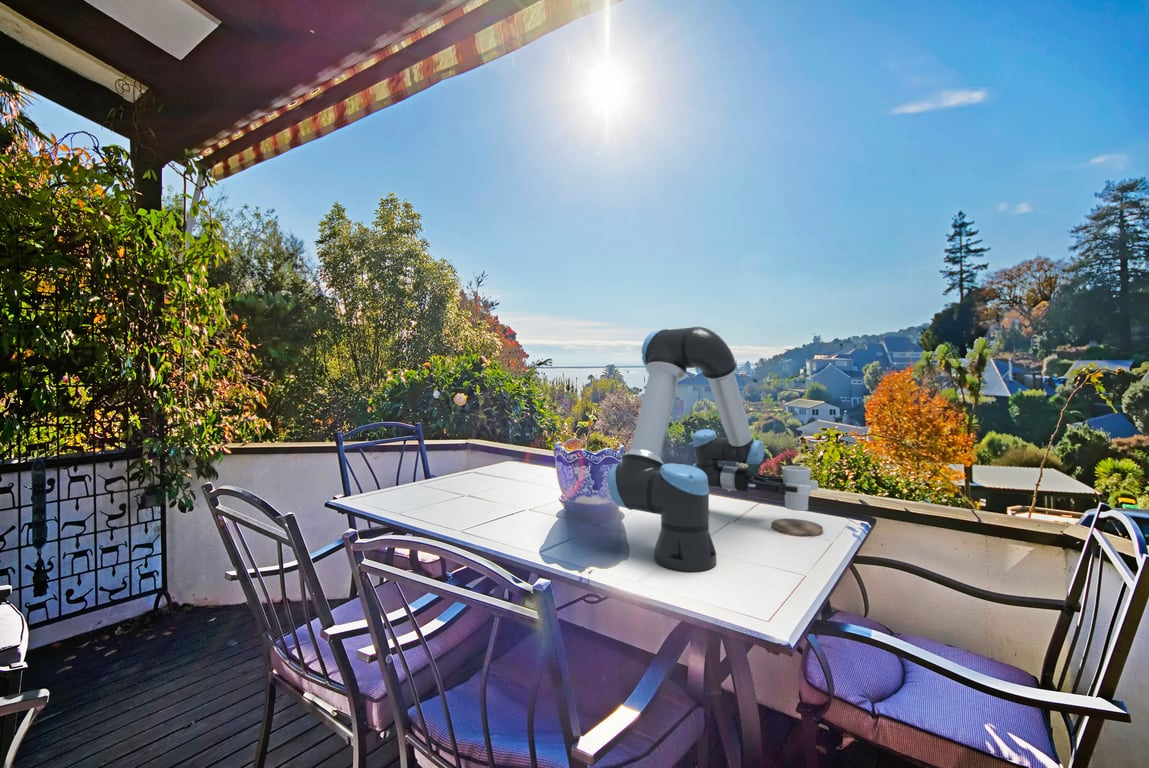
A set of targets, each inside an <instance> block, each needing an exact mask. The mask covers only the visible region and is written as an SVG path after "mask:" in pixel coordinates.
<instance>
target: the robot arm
mask: <svg viewBox="0 0 1149 768" xmlns="http://www.w3.org/2000/svg"><path fill="white" fill-rule="evenodd" d="M641 354H642V356H641V360H642V363H643V365H644V366H645V371H646V372H647V374H648V378H647V381H646V386H645V390H644V392H643V398H642V403H641V405H640V408H639V409H640V410H639V414H638V417H637V423H636V426H635V430H634V435H633V437H632V442H631V446H630V450H629V451H627V452H625V453H624V454H623V455H622V459H621V462H619V463H615V464H614V465H613V467H611V468H610V470H609V474H608V478H607V488H608V493H609V495H610V498H611V500H612V501H613V503H614V504H615V505H617V506H619V507H621V508H624V509H627V510H630V511H632V510H633V511H634V510H635V511H641V512H644V513H650V514H656V515H660V531H659V534H658V538H657V541H656V542H655V547H654V554H653V555H654V556H653V557H654V561H655V563H657V565H659V566H662V567H664V568H667V569H668V570H669V569H671V570H675V571H678V572H679V571H681V572H702V571H707V570H710V569H712V568H715V566H716V565H717V552H716V549H715V545H714V542H713V539H712V537H711V533H710V525H709V524H710V523H709V522H710V520H709V517H710V516H709V514H710V511H709V510H710V507H709V505H710V504H709V503H710V502H709V501H710V499H709V496H710V494H709V493H710V488H715V489H722V490H727V492H731V491H737V492H742V493H749V492H751V490H752V491H753V490H755V491H761V492H767V493H773V494H777V495H779V494H781V496H784V495H786V493H792V494H799V495H807V496H809V497H810V496H812V494H811V493H812V492H811V491H819V486H818V485H819V483H818V482H819V481H818V480H811V479H810V484H809V486H806V485H798V484H789V483H787V484H783V475H773V474H772V475H771V474H766V473H762V474H761V473H759V474H756V475H754V474H753V471H752V469H750V468H748V467H747V468H746V467H737V466H728V465H720V462H730V463H731V462H732V463H737V464H738V463H739V464H746V465H748V464H749V465H759V464H761V463H762V462H763V460H764V456H765V446H764V443H763V442H762V440H758V439H754V437H753V435H752V431H751V428H750V424H749V421H748V418H747V414H746V410H745V406H744V403H743V398H742V396H741V391H740V388H739V385H738V381H737V378H736V374H735V371H736V369H737V363H736V360H735V356H734V354H733V352H732V350H731V348H730V347H729V346H728V344H727V343H726V342H725V341H724V339H723V338H721V336H719V334H717V333H716V332H714V331H712V330H710V329H709V328H706V327H703V326H692V327H683V328H673V329H668V328H662V329H659V330H653V332H650V333H649V334H648V335H646V337H645V339H644V340H643V343H642V347H641ZM692 368H693V369H694V368H695V369H697V368H698V369H700V370H701V373H702V376H703V378H705V379H707V380H708V383H709V387H710V390H711V393H712V395H713V400H714V403H715V405H716V409H717V412H718V415H719V418H720V421H721V424H722V425H721V426H722V428H723V431H724V434H725V436H726V437H718V435H717V433H716V431H715V430H714V429H713V430H712V429H707V428H706V429H699V430H697V431H695V432H694V433H693V434H692V435H693V436H692V437H693V439H692V440H693V448H694V449H693V450H694V455H695V463H693V464H692V465H688V464H682V463H680V464H679V463H675V462H674V463H672V462H671V463H665V462H664V461H663V459H662V455H663V452H664V446H665V441H666V437H667V433H668V429H669V425H670V419H671V415H672V412H673V405H674V402H675V396H676V393H677V389H678V388H677V387H678V385H679V381H681V380H684V378H685V376H686V372H687V369H692Z"/></svg>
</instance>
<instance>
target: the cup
mask: <svg viewBox="0 0 1149 768" xmlns="http://www.w3.org/2000/svg"><path fill="white" fill-rule="evenodd" d="M811 471H812V469H811V468H810V467H808V466H800V465H785V466H781V473H782V475H781V476H783V484H787V483H789V484H798V485H806V486H809V484H810V480H811ZM783 496H784V507H785V509H787V510H790V511H796V512H797V511H799V512H803V511H808V510H809V498H810V496H807V495H799V494H792V493H786V495H783Z"/></svg>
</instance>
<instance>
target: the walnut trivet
mask: <svg viewBox="0 0 1149 768" xmlns="http://www.w3.org/2000/svg"><path fill="white" fill-rule="evenodd" d="M771 529H772V530H773V529H774V530H773V531H775V532H777V531H778V533H780V534H783V533H784V535H787V534H788V536H793V535H794V536H795V537H803V536H811V537H817V535H818V536H821V535H822V534H824V533H823V532H824V531H823V526H822V525H820V524H819V523H817V522H813V521H809V520H806V519H799V518H777V519H773V521H771ZM820 534H821V535H820ZM794 536H793V537H794Z"/></svg>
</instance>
